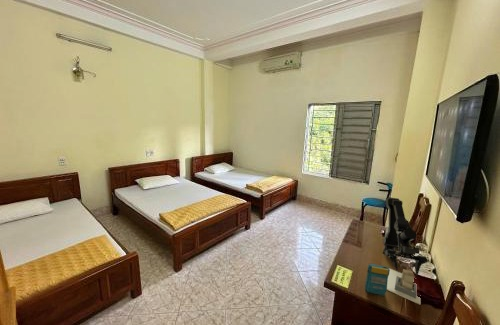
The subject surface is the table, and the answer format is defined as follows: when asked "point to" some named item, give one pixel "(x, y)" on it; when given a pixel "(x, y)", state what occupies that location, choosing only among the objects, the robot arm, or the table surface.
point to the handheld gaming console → (377, 279)
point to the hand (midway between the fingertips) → (406, 272)
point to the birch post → (407, 279)
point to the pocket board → (395, 287)
